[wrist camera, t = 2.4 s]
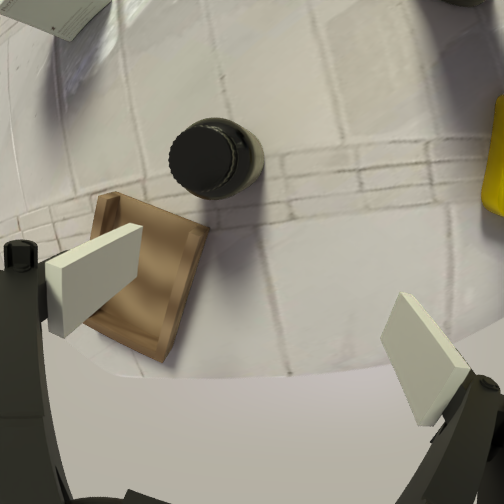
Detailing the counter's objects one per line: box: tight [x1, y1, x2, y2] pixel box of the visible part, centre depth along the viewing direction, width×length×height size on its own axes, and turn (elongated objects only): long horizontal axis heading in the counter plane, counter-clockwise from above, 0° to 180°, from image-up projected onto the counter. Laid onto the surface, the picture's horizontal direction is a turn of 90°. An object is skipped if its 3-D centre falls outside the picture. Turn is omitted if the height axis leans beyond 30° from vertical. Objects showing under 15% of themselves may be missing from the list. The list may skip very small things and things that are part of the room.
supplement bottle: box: [168, 118, 264, 200], centre depth 27 cm, size 7×7×12 cm
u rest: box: [83, 191, 210, 363], centre depth 36 cm, size 17×12×4 cm
